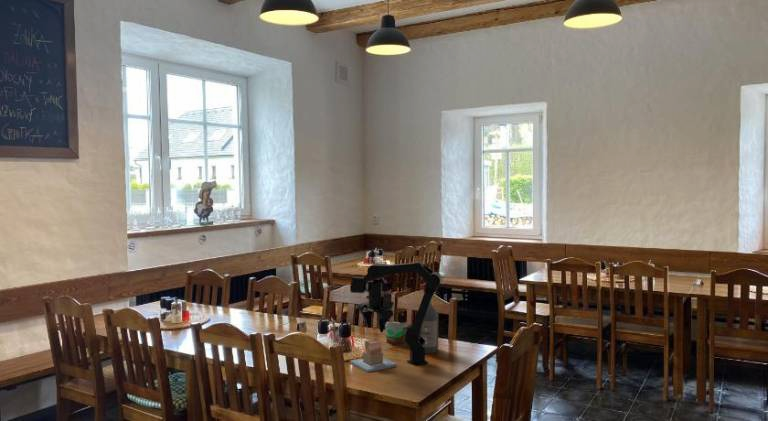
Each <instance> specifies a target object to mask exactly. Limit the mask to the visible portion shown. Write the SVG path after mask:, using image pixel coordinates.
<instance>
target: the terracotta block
mask: <svg viewBox="0 0 768 421" xmlns="http://www.w3.org/2000/svg"><path fill="white" fill-rule="evenodd" d="M364 352H365V353H367V354H369V355H375V354H380V353H382V341H381V340H379V339H376V338H371V339H365V340H364Z"/></svg>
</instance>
